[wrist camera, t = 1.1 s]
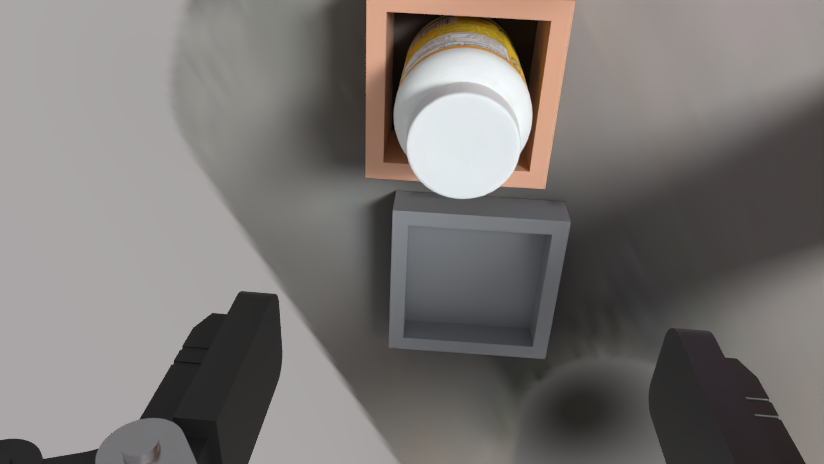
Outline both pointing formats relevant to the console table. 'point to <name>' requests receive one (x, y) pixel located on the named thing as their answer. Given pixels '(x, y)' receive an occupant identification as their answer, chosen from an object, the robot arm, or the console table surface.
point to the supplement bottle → (462, 106)
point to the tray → (475, 273)
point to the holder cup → (554, 14)
